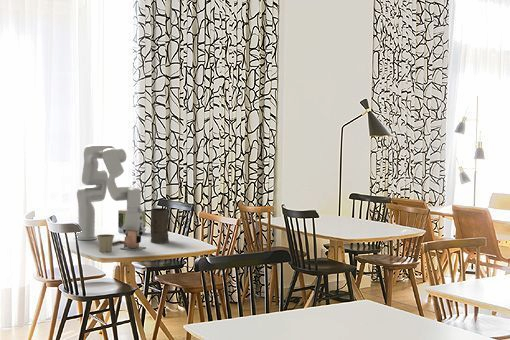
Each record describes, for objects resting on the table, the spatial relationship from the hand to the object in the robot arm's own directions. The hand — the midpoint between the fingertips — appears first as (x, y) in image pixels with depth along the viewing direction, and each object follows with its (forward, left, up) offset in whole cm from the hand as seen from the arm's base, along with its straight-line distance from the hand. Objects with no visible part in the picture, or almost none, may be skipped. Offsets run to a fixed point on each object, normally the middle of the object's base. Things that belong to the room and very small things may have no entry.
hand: (133, 241), depth 355 cm
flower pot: (-9, -14, -4) cm, 17 cm away
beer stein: (0, +28, -4) cm, 28 cm away
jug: (0, -2, -3) cm, 3 cm away
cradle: (-12, +6, -4) cm, 14 cm away
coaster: (0, 0, -4) cm, 4 cm away
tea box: (-35, +48, -4) cm, 59 cm away
